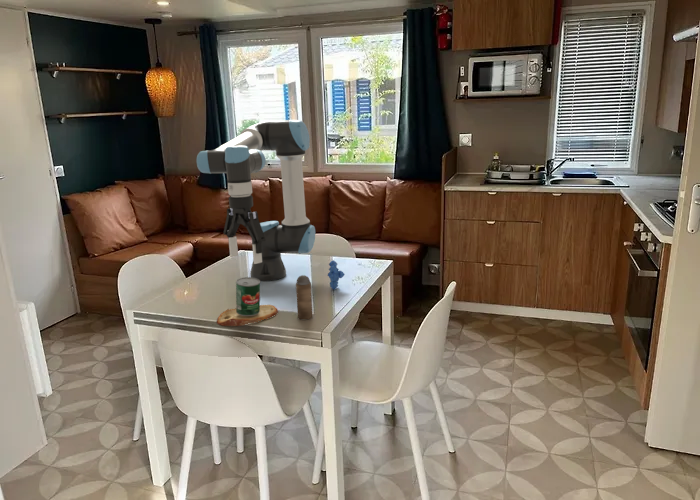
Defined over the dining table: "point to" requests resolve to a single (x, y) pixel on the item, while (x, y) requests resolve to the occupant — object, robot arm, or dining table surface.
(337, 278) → the grapes
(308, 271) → the dining table surface
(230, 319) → the bread slice
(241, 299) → the canned tomato
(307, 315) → the walnut pepper mill
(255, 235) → the robot arm
